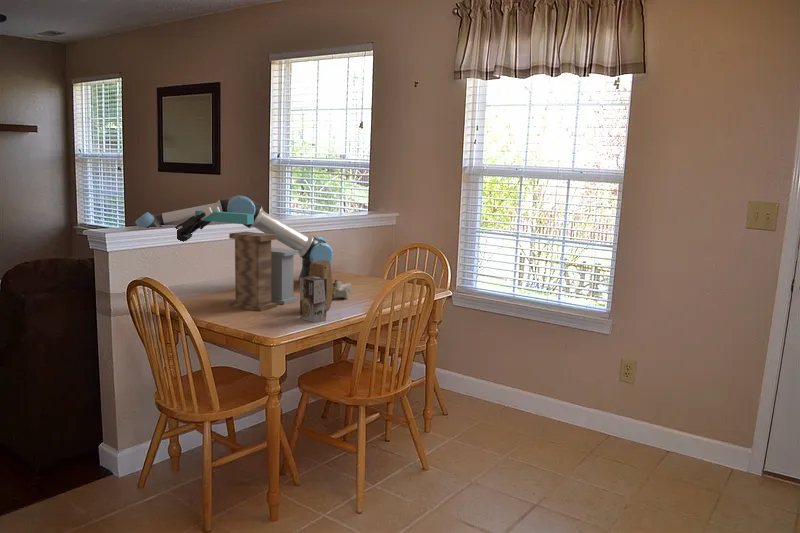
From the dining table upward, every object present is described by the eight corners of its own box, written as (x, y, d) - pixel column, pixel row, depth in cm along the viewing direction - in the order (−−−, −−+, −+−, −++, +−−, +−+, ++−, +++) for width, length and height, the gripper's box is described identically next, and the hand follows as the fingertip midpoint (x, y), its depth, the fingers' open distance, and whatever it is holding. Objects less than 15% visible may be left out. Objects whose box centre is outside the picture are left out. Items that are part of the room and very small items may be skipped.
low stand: (254, 300, 267) (254, 249, 263) (269, 296, 275) (269, 247, 272) (284, 304, 260) (284, 252, 256) (298, 300, 268) (298, 250, 265)
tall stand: (230, 306, 253) (229, 233, 249) (246, 302, 262) (245, 231, 258) (261, 311, 246) (260, 236, 242) (276, 306, 255) (276, 234, 251)
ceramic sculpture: (352, 281, 270) (318, 283, 268) (353, 300, 271) (319, 302, 269) (350, 277, 280) (317, 279, 278) (351, 295, 282) (318, 298, 279)
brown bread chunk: (323, 313, 247) (323, 263, 244) (306, 311, 249) (306, 262, 246) (334, 307, 257) (335, 260, 254) (318, 305, 259) (318, 258, 256)
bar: (195, 220, 261) (195, 210, 261) (202, 219, 265) (202, 210, 264) (247, 224, 249) (247, 214, 248) (253, 223, 253) (253, 214, 252)
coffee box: (327, 320, 235) (327, 278, 233) (313, 322, 231) (313, 280, 228) (312, 315, 242) (313, 275, 239) (299, 318, 237) (299, 276, 235)
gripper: (197, 240, 276) (232, 216, 266) (168, 243, 261) (203, 219, 251) (191, 225, 277) (225, 201, 266) (161, 227, 262) (196, 202, 251)
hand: (214, 210), depth 258 cm, fingers closed on bar, 4 cm apart
